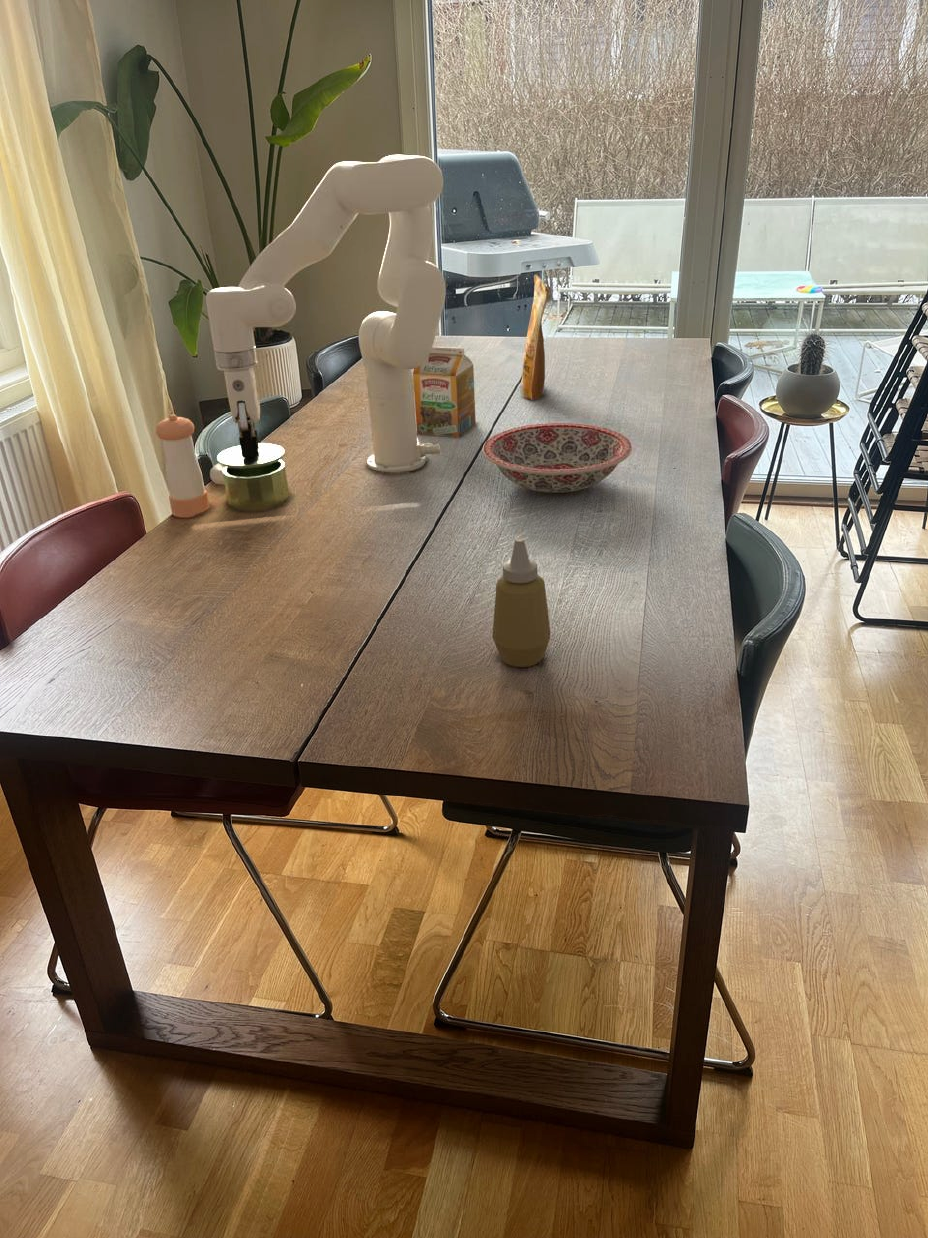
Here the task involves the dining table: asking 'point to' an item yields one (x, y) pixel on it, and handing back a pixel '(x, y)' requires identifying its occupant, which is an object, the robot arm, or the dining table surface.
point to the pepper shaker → (182, 467)
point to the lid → (265, 457)
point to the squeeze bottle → (521, 611)
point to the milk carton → (444, 393)
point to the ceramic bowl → (557, 455)
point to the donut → (217, 474)
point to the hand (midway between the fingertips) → (250, 452)
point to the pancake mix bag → (535, 345)
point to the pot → (256, 486)
